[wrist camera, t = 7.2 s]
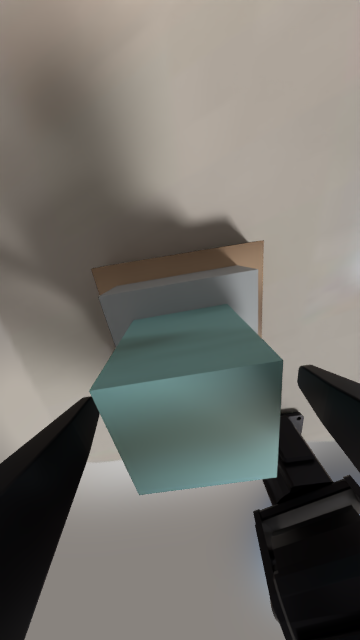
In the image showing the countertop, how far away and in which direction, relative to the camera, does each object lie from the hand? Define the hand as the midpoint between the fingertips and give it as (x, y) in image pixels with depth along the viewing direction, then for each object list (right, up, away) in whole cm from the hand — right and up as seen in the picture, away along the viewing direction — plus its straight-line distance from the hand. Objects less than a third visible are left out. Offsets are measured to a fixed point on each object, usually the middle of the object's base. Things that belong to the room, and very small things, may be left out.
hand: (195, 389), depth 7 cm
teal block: (0, +1, +2) cm, 3 cm away
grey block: (0, +2, +5) cm, 6 cm away
